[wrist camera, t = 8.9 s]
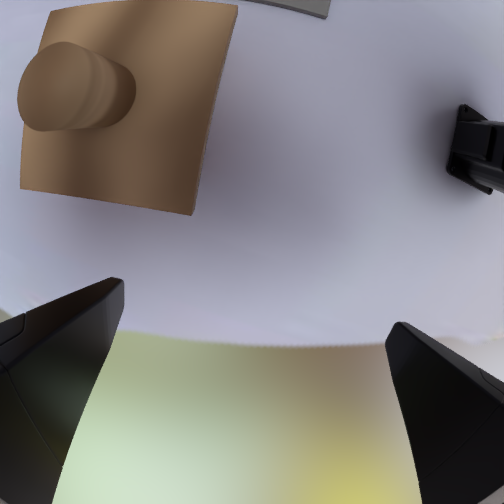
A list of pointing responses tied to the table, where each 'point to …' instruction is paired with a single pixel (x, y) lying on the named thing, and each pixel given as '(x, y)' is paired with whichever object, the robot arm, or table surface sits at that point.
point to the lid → (124, 101)
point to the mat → (302, 6)
